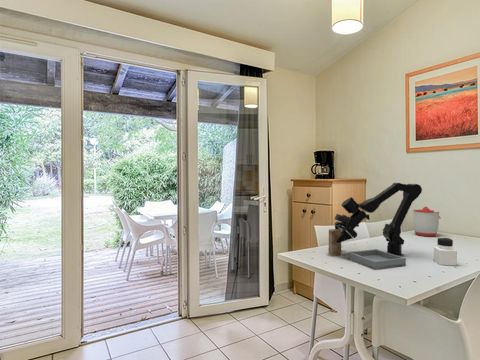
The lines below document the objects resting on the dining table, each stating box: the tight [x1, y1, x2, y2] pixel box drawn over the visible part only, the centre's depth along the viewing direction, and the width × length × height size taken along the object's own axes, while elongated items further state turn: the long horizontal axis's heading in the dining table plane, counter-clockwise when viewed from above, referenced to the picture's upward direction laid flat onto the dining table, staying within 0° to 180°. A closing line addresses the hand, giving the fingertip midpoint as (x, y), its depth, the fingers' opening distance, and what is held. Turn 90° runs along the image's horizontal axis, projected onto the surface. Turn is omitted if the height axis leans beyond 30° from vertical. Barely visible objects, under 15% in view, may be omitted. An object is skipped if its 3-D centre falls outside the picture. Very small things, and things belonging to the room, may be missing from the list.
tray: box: [347, 248, 407, 271], centre depth 147 cm, size 18×18×4 cm
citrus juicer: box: [412, 206, 442, 237], centre depth 212 cm, size 16×17×20 cm
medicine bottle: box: [433, 237, 458, 267], centre depth 146 cm, size 7×7×12 cm
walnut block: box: [328, 228, 342, 257], centre depth 161 cm, size 5×5×13 cm
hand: (333, 240), depth 161 cm, fingers open, 9 cm apart
